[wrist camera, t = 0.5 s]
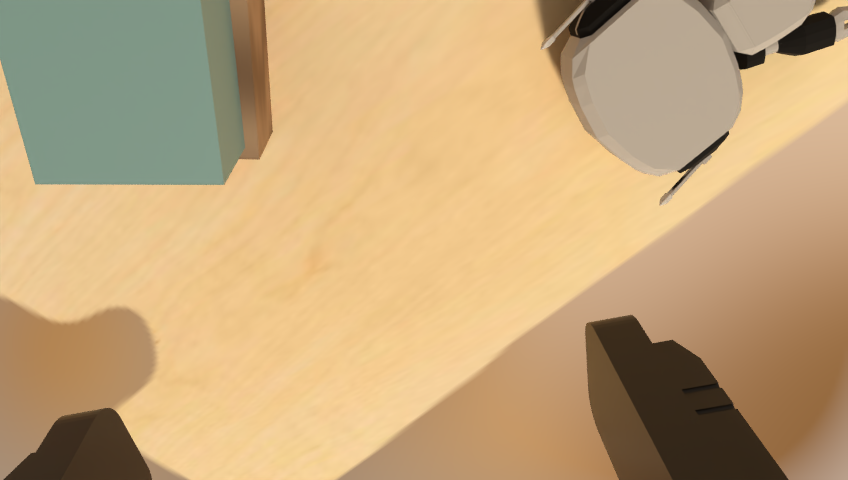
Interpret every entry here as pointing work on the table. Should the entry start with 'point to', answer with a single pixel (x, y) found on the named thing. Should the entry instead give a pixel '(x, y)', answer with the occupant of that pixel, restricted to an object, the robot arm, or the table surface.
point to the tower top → (124, 89)
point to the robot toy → (677, 70)
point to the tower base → (252, 74)
